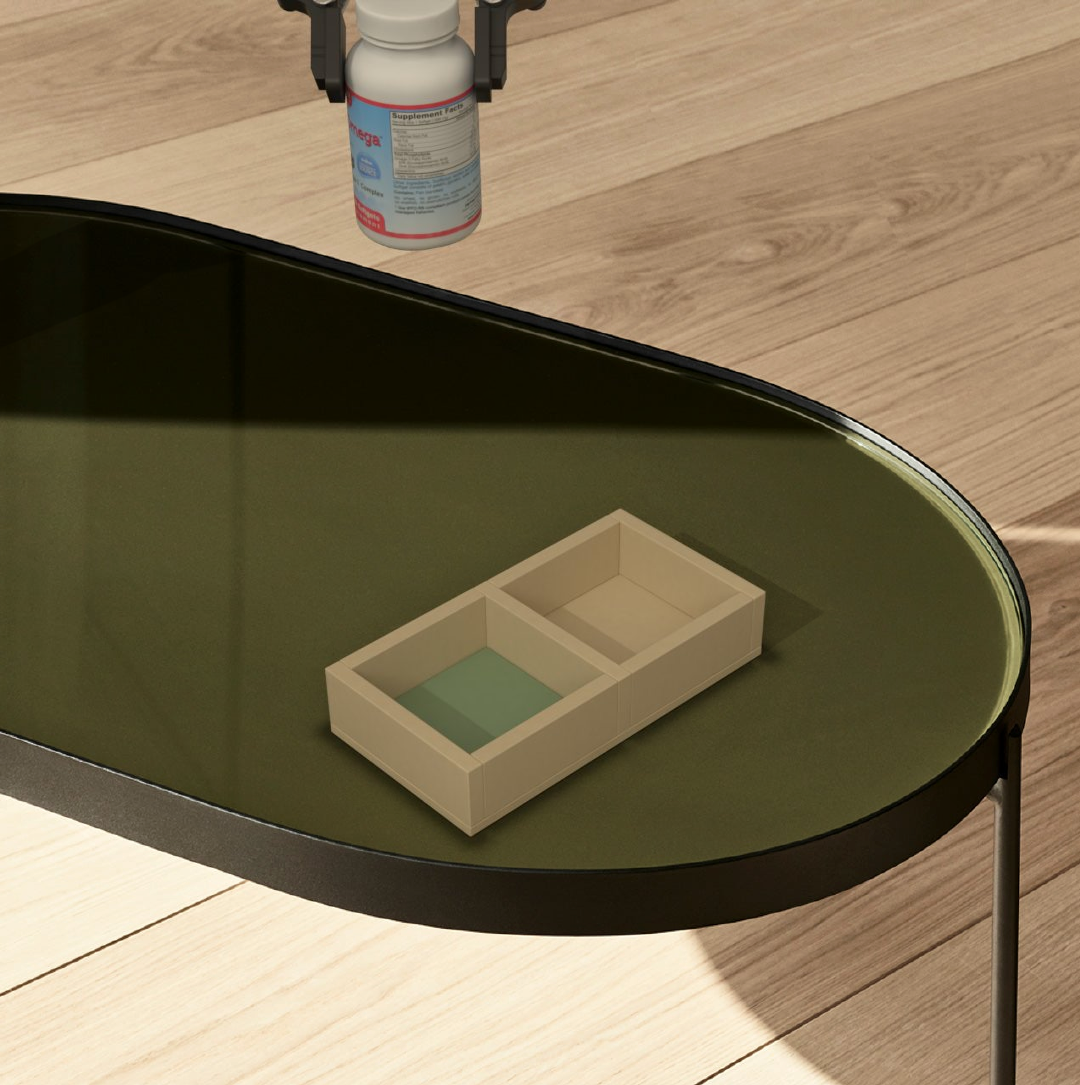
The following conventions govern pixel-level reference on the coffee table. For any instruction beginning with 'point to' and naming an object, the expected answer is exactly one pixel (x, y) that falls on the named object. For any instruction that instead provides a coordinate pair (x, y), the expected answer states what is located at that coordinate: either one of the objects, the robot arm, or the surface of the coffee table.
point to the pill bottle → (413, 125)
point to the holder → (543, 667)
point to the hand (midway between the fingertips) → (409, 96)
